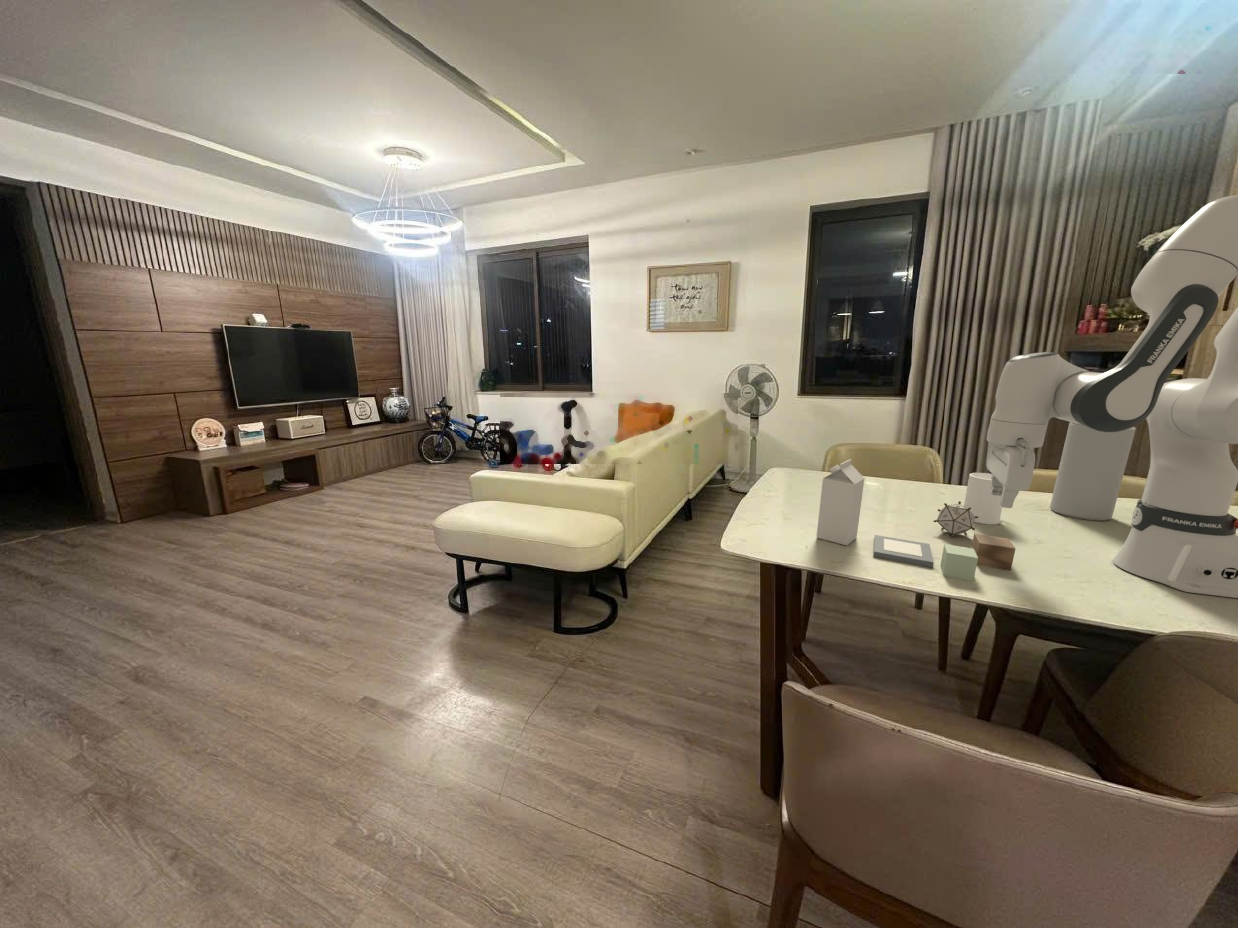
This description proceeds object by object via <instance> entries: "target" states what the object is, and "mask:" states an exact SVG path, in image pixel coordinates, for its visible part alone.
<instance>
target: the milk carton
mask: <svg viewBox="0 0 1238 928" xmlns="http://www.w3.org/2000/svg"><path fill="white" fill-rule="evenodd" d="M851 463H852V459H847V460H846V461H844V462H841V463H840V464H836V465H834V466H832V467H830V468H829V469H828V471H830V472H831V473H830V474H828V475H826V476H825V477H823V478H822V482H821V483H822V485H821V493H820V494H821V495H820V503H819V510H818V511H819V512H818V521H817V529H816V538H817V539H820V540H824V541H827V542H832V543H834V544H840V545H844V546H849V545H850V544H851V543H853V541H854V540H855V539H857V538H858V530H859V521H860V515H861V506H862V499H863V490H864V485H865V477H864V476H863V475H862V474H861V473H860V472H859V471H858V470H857V469H856V467H854V465H852V464H851Z"/></svg>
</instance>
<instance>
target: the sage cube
mask: <svg viewBox="0 0 1238 928" xmlns="http://www.w3.org/2000/svg"><path fill="white" fill-rule="evenodd" d="M977 561H978V557H977V555H976V552H975V550H974V549H972V547H965V546H959V545H953V544H947V543H944V545H943V550H942V555H941V561H940V570H941V573H942V576H944V577H949V578H950V577H951V578H954V579H961V580H965V581H971V582H974V581H975V576H976V575H975V574H976V571H977V566H978V565H977Z"/></svg>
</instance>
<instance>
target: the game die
mask: <svg viewBox="0 0 1238 928" xmlns="http://www.w3.org/2000/svg"><path fill="white" fill-rule="evenodd" d="M957 503H958V504H957ZM957 503H956V504H949V505H948V504H947V503H946V502H944V504H943V505H944V507H943V508H942V509H939V508H938V509H936V510H937V512H939V514H938V516H937V519H934V520H933V521H932V522H934V523H938V524H939V526H941V530H940V531H946V532H947V533H948V534H950V538H953V537H954V536H955V535H960V534H964V536H967V535H968V533H967V532H969V531H970V530H972V531H976V528H975V527H974V526H973V525H974V523H975V522H974V519H975V518H978V516H975V517H974V516H973V514H972V513H971V512H970V511H969V510H970V509H971V508H968V509H967V508H965V507H964V505H962V502H961V501H958V502H957Z"/></svg>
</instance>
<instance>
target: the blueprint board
mask: <svg viewBox="0 0 1238 928" xmlns="http://www.w3.org/2000/svg"><path fill="white" fill-rule="evenodd" d="M932 554H933V553H932V550H931V545H930V543H925V542H920V541H915V540H914V541H913V540H907V539H903V538H896V537H890V536H884V535H878V534H874V539H873V555H872V556H873V557H874V558H879V559H885V560H891V561H896V562H900V563H906V564H910V565H911V564H912V565H915V566H922V567H928V568H934V563H935V562H934V558H933V557H934V556H933V555H932Z"/></svg>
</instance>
